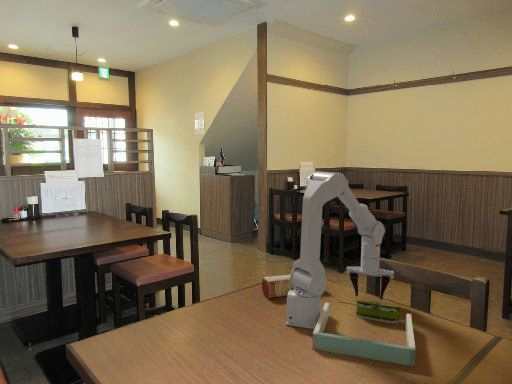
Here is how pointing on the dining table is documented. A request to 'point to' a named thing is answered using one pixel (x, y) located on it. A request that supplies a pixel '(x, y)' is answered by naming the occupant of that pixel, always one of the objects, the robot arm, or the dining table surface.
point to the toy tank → (378, 311)
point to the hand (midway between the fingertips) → (368, 296)
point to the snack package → (276, 286)
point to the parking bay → (364, 344)
